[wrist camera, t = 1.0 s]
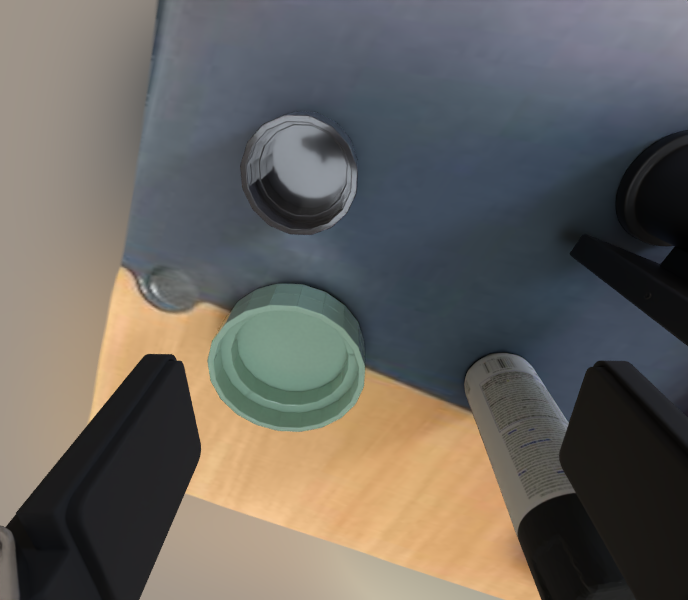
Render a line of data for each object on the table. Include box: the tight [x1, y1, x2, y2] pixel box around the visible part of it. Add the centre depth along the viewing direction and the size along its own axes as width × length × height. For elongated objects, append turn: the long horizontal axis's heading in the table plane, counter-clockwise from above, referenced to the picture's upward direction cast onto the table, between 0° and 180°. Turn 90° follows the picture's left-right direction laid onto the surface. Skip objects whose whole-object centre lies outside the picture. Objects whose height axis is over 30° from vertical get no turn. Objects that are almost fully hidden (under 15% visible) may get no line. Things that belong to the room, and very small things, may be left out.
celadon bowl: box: [208, 284, 365, 432], centre depth 35 cm, size 13×13×4 cm
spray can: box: [464, 353, 636, 600], centre depth 30 cm, size 7×7×20 cm
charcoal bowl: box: [240, 111, 358, 235], centre depth 28 cm, size 7×7×5 cm
